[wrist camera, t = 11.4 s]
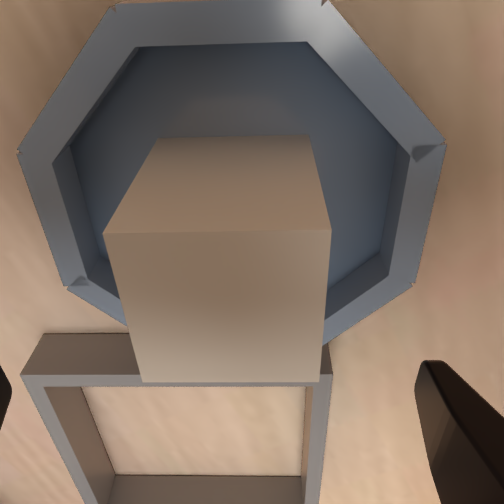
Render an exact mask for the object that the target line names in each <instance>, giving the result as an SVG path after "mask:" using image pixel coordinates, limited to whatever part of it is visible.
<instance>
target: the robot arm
mask: <svg viewBox="0 0 504 504" xmlns="http://www.w3.org/2000/svg"><path fill="white" fill-rule="evenodd" d="M414 392H415V399H416V404H417V409H418V414H419V418H420V423H421V428H422V433H423V438H424V442H425V447H426V452H427V457H428V461H429V466H430V470H431V473H432V476H433V480H434V483H435V486H436V489H437V492H438V495H439V498H440V501H441V504H504V417H503V416H502V415H501V414H499V413H498V412H497V411H496V410H495V409H494V408H493V407H492V406H491V405H490V404H489V403H488V402H487V401H486V400H485V399H484V398H483V397H482V396H480V395H479V394H478V393H477V392H476V391H475V390H474V389H473V388H472V387H471V386H470V385H469V384H468V383H467V382H466V381H465V380H464V379H462V378H461V377H460V376H459V375H458V374H457V373H456V372H455V371H454V370H453V369H452V368H451V367H450V366H449V365H448V364H447V363H445V362H444V361H441V360H425V361H423V362H422V363H421V365H420V369H419V372H418V376H417V379H416V383H415V389H414ZM11 395H12V388H11V384H10V383H9V381H8V379H7V377H6V375H5V373H4V371H3V369H2V368H1V366H0V430H1V427H2V424H3V421H4V418H5V414H6V411H7V408H8V405H9V402H10V399H11Z"/></svg>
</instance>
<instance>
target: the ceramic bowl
mask: <svg viewBox="0 0 504 504" xmlns="http://www.w3.org/2000/svg"><path fill="white" fill-rule="evenodd" d="M269 135H309V138H310V142H311V146H312V151H313V155H314V159H315V163H316V167H317V171H318V175H319V179H320V184H321V188H322V192H323V196H324V200H325V204H326V208H327V212H328V216H329V221H330V225H331V229H332V233H331V245H330V257H329V269H328V281H327V293H326V305H325V317H324V329H323V341H322V346H323V345H325V344H326V343H328V342H329V341H331V340H332V339H334V338H335V337H337V336H338V335H340V334H341V333H343V332H344V331H346V330H347V329H349V328H350V327H352V326H353V325H355V324H356V323H358V322H359V321H361V320H362V319H364V318H365V317H367V316H368V315H370V314H371V313H373V312H374V311H376V310H377V309H379V308H380V307H382V306H383V305H385V304H386V303H388V302H389V301H391V300H392V299H394V298H395V297H397V296H398V295H400V294H401V293H403V292H404V291H406V290H407V289H409V288H411V287H412V284H411V283H415V281H416V277H417V273H418V268H419V264H420V259H421V255H422V251H423V246H424V242H425V238H426V233H427V229H428V225H429V220H430V216H431V212H432V207H433V203H434V199H435V194H436V190H437V186H438V181H439V177H440V173H441V168H442V164H443V160H444V155H445V151H446V147H447V144H446V143H445V142H444V141H445V140H446V139H445V138H444V137H443V136H442V135H441V134H440V132H439V131H438V130H437V129H436V128H435V126H434V125H433V124H432V123H431V122H430V120H429V119H428V118H427V117H426V116H425V114H424V113H423V112H422V111H421V110H420V108H419V107H418V106H417V105H416V104H415V103H414V101H413V100H412V99H411V98H410V97H409V95H408V94H407V93H406V92H405V91H404V89H403V88H402V87H401V86H400V85H399V83H398V82H397V81H396V80H395V79H394V78H393V76H392V75H391V74H390V73H389V72H388V70H387V69H386V68H385V67H384V66H383V64H382V63H381V62H380V61H379V60H378V58H377V57H376V56H375V55H374V54H373V53H372V51H371V50H370V49H369V48H368V47H367V45H366V44H365V43H364V42H363V41H362V39H361V38H360V37H359V36H358V35H357V33H356V32H355V31H354V30H353V29H352V27H351V26H350V25H349V24H348V23H347V22H346V20H345V19H344V18H343V17H342V16H341V14H340V13H339V12H338V11H337V10H336V8H335V7H334V6H333V5H332V4H331V2H330V1H329V0H125V1H122V2H119V3H116V4H115V6H112V7H109V9H108V10H107V12H106V13H105V15H104V16H103V18H102V19H101V21H100V23H99V24H98V26H97V27H96V29H95V30H94V32H93V33H92V35H91V36H90V38H89V39H88V41H87V42H86V44H85V46H84V47H83V49H82V50H81V52H80V53H79V55H78V56H77V58H76V59H75V61H74V62H73V64H72V66H71V67H70V69H69V70H68V72H67V73H66V75H65V76H64V78H63V79H62V81H61V82H60V84H59V85H58V87H57V89H56V90H55V92H54V93H53V95H52V96H51V98H50V99H49V101H48V102H47V104H46V105H45V107H44V109H43V110H42V112H41V113H40V115H39V116H38V118H37V119H36V121H35V122H34V124H33V125H32V127H31V128H30V130H29V132H28V133H27V135H26V136H25V138H24V139H23V141H22V142H21V144H20V145H19V147H18V148H17V150H19V151H20V152H19V153H17V157H18V160H19V163H20V165H21V168H22V171H23V174H24V177H25V179H26V182H27V185H28V188H29V191H30V193H31V196H32V199H33V202H34V205H35V207H36V210H37V213H38V216H39V219H40V221H41V224H42V227H43V230H44V233H45V235H46V238H47V241H48V244H49V247H50V249H51V252H52V255H53V258H54V261H55V263H56V266H57V269H58V272H59V275H60V277H61V280H62V283H63V286H68V288H67V290H68V291H70V292H72V293H73V294H75V295H77V296H78V297H80V298H81V299H83V300H85V301H86V302H88V303H90V304H91V305H93V306H95V307H96V308H98V309H100V310H101V311H103V312H104V313H106V314H108V315H109V316H111V317H113V318H114V319H116V320H118V321H119V322H121V323H122V324H124V325H126V326H127V323H126V319H125V315H124V312H123V308H122V304H121V300H120V297H119V293H118V289H117V286H116V282H115V278H114V274H113V271H112V267H111V263H110V260H109V256H108V252H107V248H106V245H105V241H104V237H103V234H102V233H103V232H104V230H105V228H106V226H107V225H108V223H109V221H110V220H111V218H112V216H113V214H114V213H115V211H116V209H117V208H118V206H119V204H120V202H121V201H122V199H123V197H124V196H125V194H126V192H127V191H128V189H129V187H130V185H131V184H132V182H133V180H134V179H135V177H136V175H137V173H138V172H139V170H140V168H141V167H142V165H143V163H144V161H145V160H146V158H147V156H148V155H149V153H150V151H151V149H152V148H153V146H154V144H155V143H156V141H157V139H158V138H186V137H228V136H269ZM127 327H128V326H127Z"/></svg>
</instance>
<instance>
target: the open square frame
mask: <svg viewBox="0 0 504 504" xmlns="http://www.w3.org/2000/svg"><path fill="white" fill-rule="evenodd" d="M20 376H21V378H22V380H23V382H24V384H25V386H26V388H27V390H28V392H29V394H30V396H31V398H32V400H33V402H34V404H35V406H36V408H37V410H38V412H39V414H40V416H41V418H42V420H43V422H44V424H45V426H46V428H47V430H48V432H49V434H50V436H51V438H52V440H53V442H54V444H55V446H56V448H57V449H58V451H59V453H60V455H61V457H62V459H63V461H64V463H65V465H66V467H67V469H68V471H69V473H70V475H71V477H72V479H73V481H74V483H75V485H76V487H77V489H78V491H79V493H80V495H81V497H82V499H83V501H84V503H85V504H319V497H320V488H321V479H322V470H323V460H324V451H325V442H326V433H327V424H328V415H329V406H330V397H331V388H332V379H333V371H332V365H331V359H330V353H329V347H328V343H326V344H325V345H323V346H322V354H321V366H320V378H319V382H142V378H141V375H140V371H139V367H138V364H137V360H136V356H135V352H134V349H133V345H132V341H131V338H130V334H43V336H42V338H41V339H40V341H39V343H38V345H37V346H36V348H35V350H34V351H33V353H32V355H31V357H30V358H29V360H28V362H27V363H26V365H25V367H24V368H23V370H22V372H21V374H20ZM263 386H306V400H305V417H304V433H303V450H302V467H301V477H267V476H139V475H115V473H114V470H113V468H112V465H111V463H110V460H109V458H108V455H107V453H106V450H105V448H104V445H103V443H102V440H101V438H100V435H99V432H98V430H97V427H96V425H95V422H94V420H93V417H92V415H91V412H90V410H89V407H88V405H87V402H86V400H85V397H84V395H83V392H82V389H81V387H263Z"/></svg>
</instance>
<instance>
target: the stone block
mask: <svg viewBox="0 0 504 504" xmlns="http://www.w3.org/2000/svg"><path fill="white" fill-rule="evenodd" d="M331 233H332V229H331V225H330V221H329V216H328V212H327V208H326V204H325V200H324V196H323V192H322V188H321V184H320V179H319V175H318V171H317V167H316V163H315V159H314V155H313V151H312V146H311V142H310V138H309V135H269V136H228V137H186V138H158V139H157V141H156V143H155V144H154V146H153V148H152V149H151V151H150V153H149V155H148V156H147V158H146V160H145V161H144V163H143V165H142V167H141V168H140V170H139V172H138V173H137V175H136V177H135V179H134V180H133V182H132V184H131V185H130V187H129V189H128V191H127V192H126V194H125V196H124V197H123V199H122V201H121V202H120V204H119V206H118V208H117V209H116V211H115V213H114V214H113V216H112V218H111V220H110V221H109V223H108V225H107V226H106V228H105V230H104V232H103V233H102V234H103V237H104V241H105V245H106V248H107V252H108V256H109V260H110V263H111V267H112V271H113V274H114V278H115V282H116V286H117V289H118V293H119V297H120V300H121V304H122V308H123V312H124V315H125V319H126V323H127V326H128V330H129V334H130V338H131V341H132V345H133V349H134V352H135V356H136V360H137V364H138V367H139V371H140V375H141V378H142V382H319V378H320V366H321V354H322V341H323V329H324V317H325V305H326V293H327V281H328V269H329V257H330V245H331Z"/></svg>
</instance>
